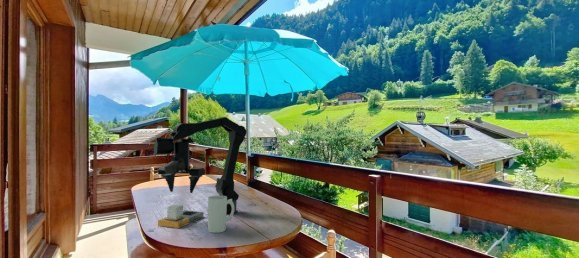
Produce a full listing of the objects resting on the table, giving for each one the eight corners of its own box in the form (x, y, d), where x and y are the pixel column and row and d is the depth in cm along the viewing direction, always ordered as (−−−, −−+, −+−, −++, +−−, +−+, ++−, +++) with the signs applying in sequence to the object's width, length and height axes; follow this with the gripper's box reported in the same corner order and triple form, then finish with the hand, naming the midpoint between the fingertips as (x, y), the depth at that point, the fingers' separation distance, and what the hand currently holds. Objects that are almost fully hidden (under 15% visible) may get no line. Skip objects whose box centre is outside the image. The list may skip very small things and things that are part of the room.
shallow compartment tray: (203, 216, 132) (203, 212, 132) (178, 228, 115) (178, 222, 115) (185, 214, 134) (185, 210, 134) (157, 225, 118) (158, 220, 118)
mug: (210, 234, 109) (211, 200, 109) (204, 229, 115) (205, 196, 115) (237, 230, 115) (238, 197, 115) (230, 225, 120) (231, 194, 120)
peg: (182, 223, 122) (182, 205, 122) (176, 226, 118) (176, 207, 118) (173, 222, 123) (174, 204, 123) (167, 225, 119) (167, 206, 119)
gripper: (148, 154, 122) (148, 194, 122) (190, 156, 117) (190, 197, 117) (166, 153, 133) (166, 189, 132) (206, 154, 128) (205, 192, 128)
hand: (181, 192), depth 127 cm, fingers open, 9 cm apart
